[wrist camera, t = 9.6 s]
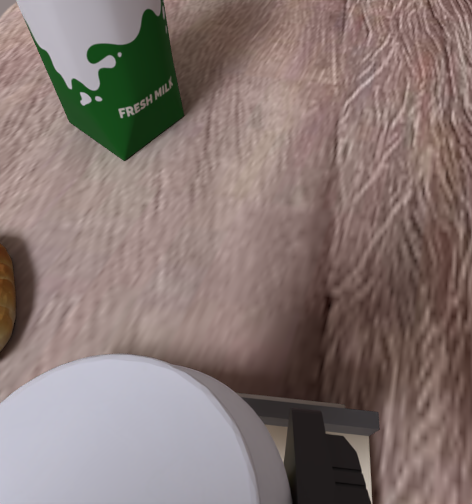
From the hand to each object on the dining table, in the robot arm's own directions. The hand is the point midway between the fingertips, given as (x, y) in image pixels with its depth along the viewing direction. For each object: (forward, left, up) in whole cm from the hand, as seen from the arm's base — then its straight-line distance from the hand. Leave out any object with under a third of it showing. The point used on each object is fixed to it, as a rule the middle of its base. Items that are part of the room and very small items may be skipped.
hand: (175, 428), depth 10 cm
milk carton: (-26, -11, -14) cm, 32 cm away
